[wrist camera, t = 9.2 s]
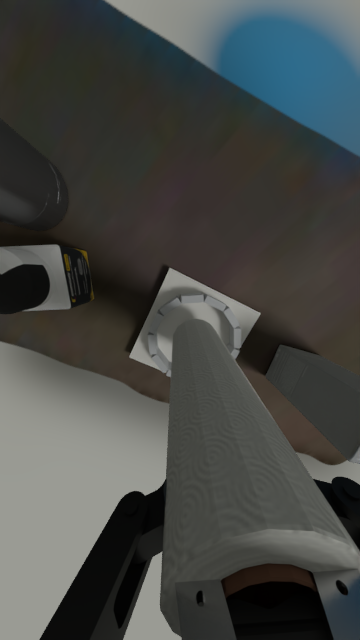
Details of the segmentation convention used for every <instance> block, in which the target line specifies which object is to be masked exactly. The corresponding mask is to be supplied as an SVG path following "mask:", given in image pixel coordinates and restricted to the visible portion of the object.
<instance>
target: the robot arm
mask: <svg viewBox="0 0 360 640" xmlns="http://www.w3.org/2000/svg"><path fill="white" fill-rule="evenodd" d="M67 206H68V192H67V187H66V184H65V181H64V179H63V177H62V175H61V173H60V172H59V171H58V169H57V168H56V167H55V166H54V165H53V164H52V163H51V162H50V161H49V160H48V159H47V158H46V157H45V156H43V155H42V154H41V153H40V152H39V151H38V150H36V149H35V148H34V147H33V146H32V145H31V144H30V143H29V142H27V141H26V140H25V139H24V138H23V137H22V136H20V135H19V134H18V133H17V132H16V131H15V130H14V129H12V128H11V127H10V126H9V125H8V124H7V123H5V122H4V121H3V120H2V119H1V118H0V221H1V222H4V223H8V224H11V225H15V226H19V227H22V228H26V229H29V230H35V231H44V230H48V229H51V228H53V227H54V226H56V225H57V224H58V223H59V222H60V221H61V220H62V218H63V217H64V215H65V213H66V210H67ZM313 480H314V482H315V483H316V485H317V486H318V488H319V489H320V491H321V492H322V494H323V495H324V497H325V499H326V500H327V502H328V503H329V505H330V506H331V508H332V509H333V511H334V512H335V514H336V515H337V517H338V518H339V520H340V521H341V523H342V525H343V526H344V528H345V529H346V531H347V532H348V534H349V535H350V537H351V538H352V540H353V541H354V543H355V544H356V546H357V547H358V549H359V551H360V485H359V484H358V483H356V482H354V481H353V480H351V479H348V478H345V477H335V478H334V479H333V480H332V483H327V482H323V481H319V480H315V479H313ZM166 487H167V479H166V480H165V482H164V483H163V485H162V486H161V487H160V488H159V489H158V490H156V491H155V492H152V493H150V494H148V495H146V496H145V495H144V494H142V493H141V492H139V491H133V492H130V493H128V494H126V495H125V496H124V497H123V498H122V499H121V500H120V502H119V503H118V505H117V507H116V509H115V510H114V512H113V514H112V515H111V517H110V519H109V520H108V522H107V524H106V526H105V527H104V529H103V531H102V533H101V534H100V536H99V538H98V540H97V541H96V543H95V545H94V546H93V548H92V550H91V551H90V553H89V555H88V557H87V558H86V560H85V562H84V564H83V565H82V567H81V569H80V570H79V572H78V574H77V576H76V577H75V579H74V581H73V583H72V584H71V586H70V588H69V589H68V591H67V593H66V595H65V596H64V598H63V600H62V602H61V603H60V605H59V607H58V609H57V610H56V612H55V614H54V615H53V617H52V619H51V621H50V622H49V624H48V626H47V627H46V629H45V631H44V633H43V635H42V636H41V638H40V640H123V638H124V635H125V632H126V629H127V627H128V624H129V621H130V618H131V615H132V612H133V610H134V607H135V604H136V602H137V599H138V596H139V593H140V590H141V587H142V584H143V582H144V579H145V576H146V574H147V571H148V568H149V565H150V562H151V559H152V557H153V556H155V555H157V554H158V553H160V552H162V551H163V531H164V516H165V507H166ZM310 573H311V576H312V579H313V581H314V584H315V587H316V592H314V591H313V593H307V594H295V595H294V596H292V597H290V598H289V599H287V600H285V601H284V602H282V603H281V604H279V605H277V606H276V607H274V608H272V609H266V608H263V607H261V606H258V605H255V604H252V603H249V602H246V601H243V600H240V599H228V600H226V599H225V595H224V592H223V588H222V584H221V581H220V579H215V580H202V581H189V582H176V583H175V589H176V597H177V605H178V613H179V621H180V629H181V637H182V640H360V573H359V570H358V569H347V570H334V571H321V572H311V571H310ZM299 585H300V590H301V593H303V592H305V590H306V588H307V586H304V585H301V584H299ZM200 602H203V603H204V604H205V605H204V606H203V607H200V606H199V605H198V604H199V603H200Z"/></svg>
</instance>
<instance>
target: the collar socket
mask: <svg viewBox="0 0 360 640" xmlns="http://www.w3.org/2000/svg"><path fill="white" fill-rule="evenodd" d="M260 314H261V313H259V312H257V311H255V310H253V309H251V308H249V307H247V306H245V305H243V304H241V303H239V302H237V301H235V300H233V299H231V298H229V297H227V296H225V295H223V294H221V293H219V292H217V291H215V290H213V289H211V288H209V287H207V286H205V285H203V284H201V283H199V282H197V281H195V280H193V279H191V278H189V277H187V276H185V275H183V274H181V273H179V272H177V271H175V270H173V269H171V268H170V269H169V271H168V273H167V275H166V277H165V280H164V282H163V284H162V286H161V288H160V290H159V293H158V295H157V297H156V299H155V301H154V304H153V306H152V308H151V310H150V312H149V315H148V317H147V319H146V321H145V323H144V326H143V328H142V330H141V332H140V334H139V336H138V339H137V341H136V343H135V345H134V347H133V350H132V352H131V354H130V356H129V357H130V358H132V359H135V360H137V361H140V362H142V363H144V364H147V365H149V366H151V367H154V368H156V369H158V370H161V371H162V372H163V373H164V372H166V375H167V376H169V377H171V364H172V344H173V334H174V332H175V331H176V329H177V327H178V326H179V325H181V324H182V323H183V322H184V321H187V320H191V319H201V320H204V321H206V322H208V323H210V324H211V325H212V327H213V328H214V329H215V330H216V332H217V333H218V335H219V336H220V338H221V339H222V341H223V342H224V344H225V346H226V347H227V349H228V350H229V352H230V353H231V355H232V356H233V358H234V359H236V357H237V356H238V354H239V352H240V351H239V349H240V348H241V345H242V344H243V342H244V341H245V339H246V337H247V336H248V334H249V332H250V331H251V329H252V327H253V326H254V324H255V322H256V321H257V319H258V317H259V316H260Z"/></svg>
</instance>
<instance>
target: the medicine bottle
mask: <svg viewBox="0 0 360 640" xmlns="http://www.w3.org/2000/svg"><path fill="white" fill-rule="evenodd" d="M93 299H94V295H93V289H92V282H91V276H90V270H89V263H88V257H87V252H86V251H84V250H79V249H75V248H70V247H65V246H61V245H56V244H55V245H32V246H9V247H0V314H12V313H16V312H20V311H36V310H58V309H70V308H73V307H75V306H78V305H81V304H84V303H87V302H89V301H92V300H93Z"/></svg>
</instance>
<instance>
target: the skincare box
mask: <svg viewBox="0 0 360 640" xmlns="http://www.w3.org/2000/svg"><path fill="white" fill-rule="evenodd" d="M266 378H267V379H268V380H269V381H270V382H271V383H272V384H273V385H274V386H275V387H276V388H277V389H278V390H279V391H280V392H281V393H282V394H283V395H284V396H285V397H286V398H287V399H288V400H289V401H290V402H291V403H292V404H293V405H294V406H295V407H296V408H297V409H298V410H299V411H300V412H301V413H302V414H303V415H304V416H305V417H306V418H307V419H308V420H309V421H310V422H311V423H312V424H313V425H314V426H315V427H316V428H317V429H318V430H319V431H320V432H321V433H322V434H323V435H324V436H325V437H326V438H327V439H328V440H329V441H330V442H331V443H332V444H333V445H334V446H335V447H336V448H337V449H338V450H339V451H340V452H341V454H342V455H343V456H344V457H345V458H346V459H347V460H348V461H349V462H354V463H359V464H360V376H359V375H357V374H355V373H353V372H351V371H349V370H347V369H345V368H343V367H341V366H339V365H337V364H335V363H333V362H331V361H329V360H328V359H326V358H324V357H322V356H320V355H316V354H313V353H309V352H306V351H302V350H299V349H295V348H292V347H288V346H284V345H279V347H278V349H277V352H276V354H275V356H274V359H273V361H272V363H271V365H270V367H269V370H268V372H267V374H266Z"/></svg>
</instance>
